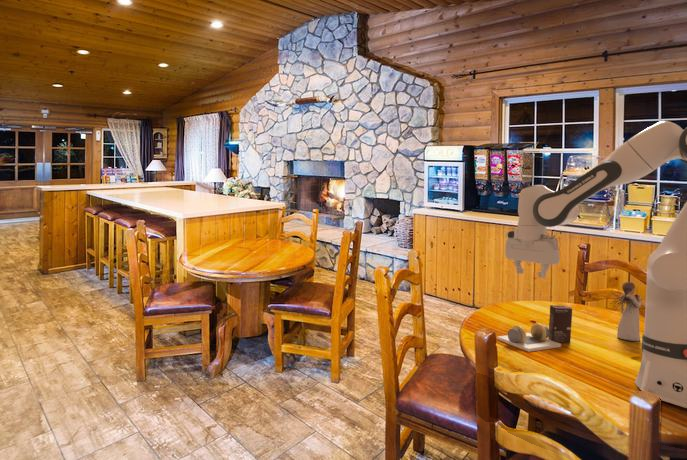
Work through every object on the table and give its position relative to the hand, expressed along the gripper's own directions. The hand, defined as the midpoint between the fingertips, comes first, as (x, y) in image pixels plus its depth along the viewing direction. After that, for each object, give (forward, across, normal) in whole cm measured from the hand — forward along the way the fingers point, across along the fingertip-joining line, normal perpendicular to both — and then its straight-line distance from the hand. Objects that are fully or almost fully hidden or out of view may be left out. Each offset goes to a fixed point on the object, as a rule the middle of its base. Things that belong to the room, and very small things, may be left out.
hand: (530, 275), depth 145 cm
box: (+23, -2, -12) cm, 26 cm away
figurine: (+23, -8, -35) cm, 43 cm away
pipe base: (+23, 0, 0) cm, 23 cm away
